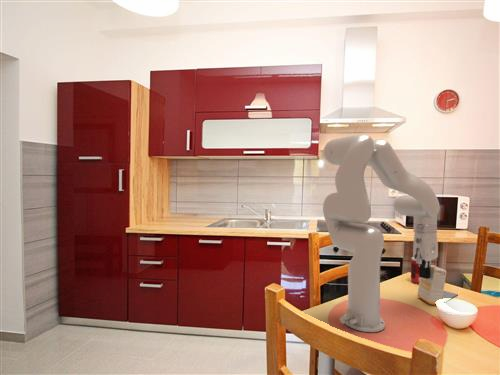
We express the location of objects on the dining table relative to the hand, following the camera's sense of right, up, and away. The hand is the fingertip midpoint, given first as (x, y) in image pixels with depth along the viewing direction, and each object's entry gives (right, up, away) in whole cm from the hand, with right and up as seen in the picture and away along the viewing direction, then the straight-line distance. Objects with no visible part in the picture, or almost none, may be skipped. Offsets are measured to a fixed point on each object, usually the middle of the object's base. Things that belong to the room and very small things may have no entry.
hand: (424, 277), depth 111 cm
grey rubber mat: (+11, -10, +8) cm, 17 cm away
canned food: (+12, -10, +24) cm, 28 cm away
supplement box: (+3, -10, +2) cm, 10 cm away
